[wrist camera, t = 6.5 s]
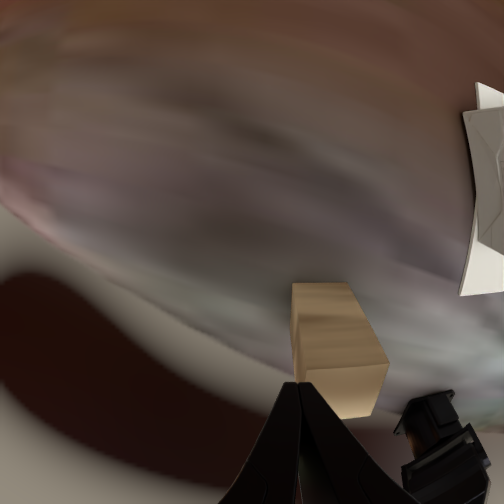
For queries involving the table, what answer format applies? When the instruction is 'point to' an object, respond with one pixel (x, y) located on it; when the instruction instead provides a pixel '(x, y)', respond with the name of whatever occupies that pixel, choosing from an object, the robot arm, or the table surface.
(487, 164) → the light bulb box
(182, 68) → the table surface
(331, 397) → the oak block
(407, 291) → the table surface
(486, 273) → the white flat board
